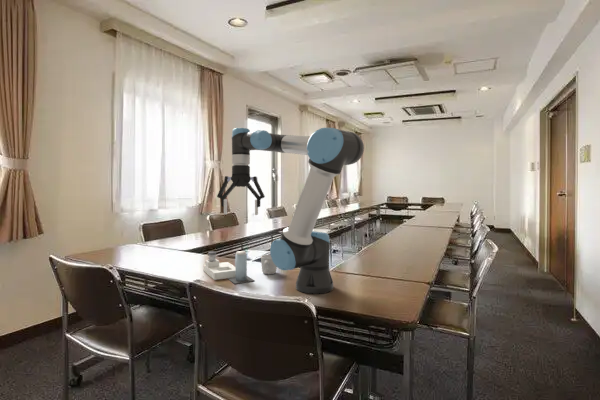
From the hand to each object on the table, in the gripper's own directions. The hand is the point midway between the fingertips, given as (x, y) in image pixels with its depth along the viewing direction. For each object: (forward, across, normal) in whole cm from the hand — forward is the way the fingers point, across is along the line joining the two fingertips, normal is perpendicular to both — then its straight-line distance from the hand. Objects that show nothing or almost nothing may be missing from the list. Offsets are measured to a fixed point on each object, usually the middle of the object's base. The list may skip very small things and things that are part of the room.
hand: (240, 214), depth 149 cm
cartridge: (+28, 0, 0) cm, 28 cm away
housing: (+29, +12, -10) cm, 33 cm away
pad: (+29, 0, 0) cm, 29 cm away
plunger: (+25, +17, -12) cm, 32 cm away
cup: (+29, -10, -12) cm, 33 cm away
